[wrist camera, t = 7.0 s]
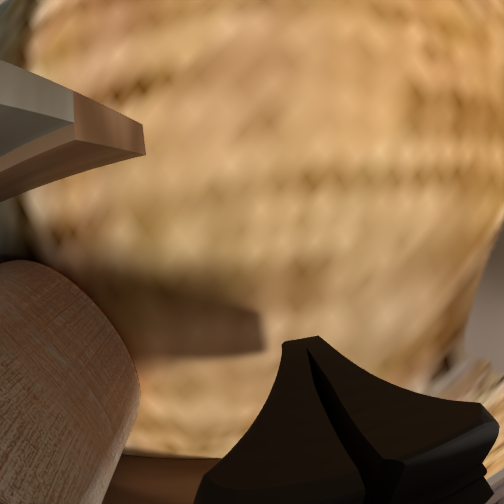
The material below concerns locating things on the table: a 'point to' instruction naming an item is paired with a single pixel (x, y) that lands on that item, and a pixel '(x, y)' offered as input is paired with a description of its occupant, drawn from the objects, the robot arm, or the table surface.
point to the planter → (59, 390)
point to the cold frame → (63, 165)
